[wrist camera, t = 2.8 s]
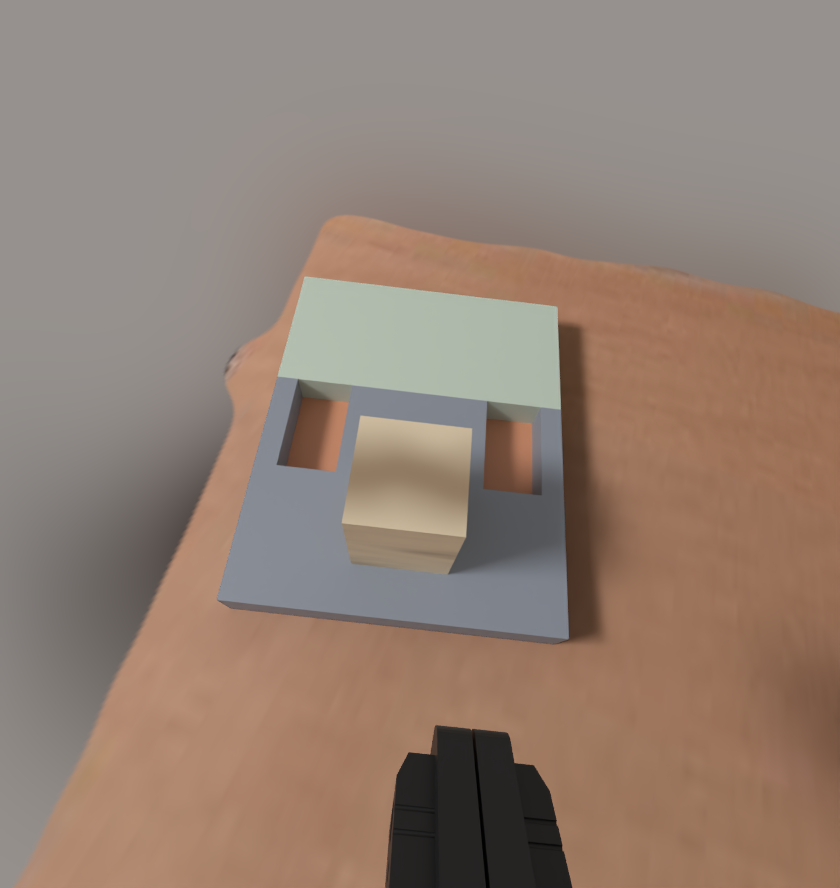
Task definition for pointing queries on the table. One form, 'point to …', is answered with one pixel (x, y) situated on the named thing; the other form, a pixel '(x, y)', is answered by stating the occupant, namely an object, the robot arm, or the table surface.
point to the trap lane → (418, 400)
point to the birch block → (407, 495)
